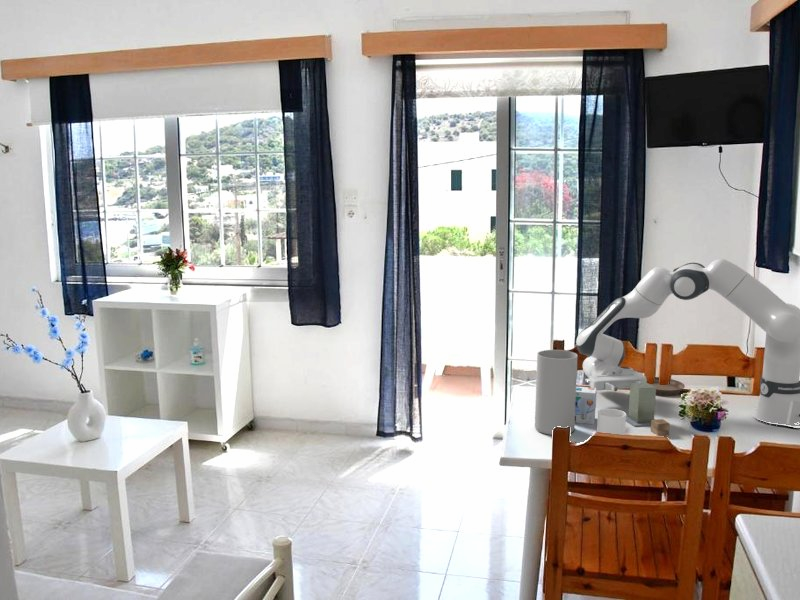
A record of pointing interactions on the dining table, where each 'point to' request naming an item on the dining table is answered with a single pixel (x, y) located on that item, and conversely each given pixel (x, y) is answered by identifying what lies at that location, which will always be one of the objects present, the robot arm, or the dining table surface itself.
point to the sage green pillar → (642, 402)
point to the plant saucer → (668, 387)
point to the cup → (611, 421)
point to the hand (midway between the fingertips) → (628, 388)
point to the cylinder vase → (555, 390)
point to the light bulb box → (585, 405)
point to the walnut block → (660, 427)
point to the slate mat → (636, 423)
